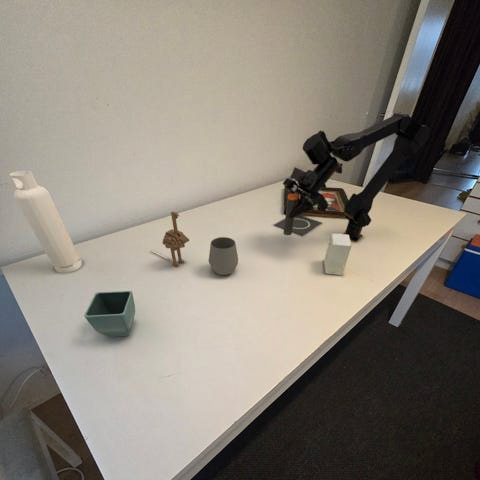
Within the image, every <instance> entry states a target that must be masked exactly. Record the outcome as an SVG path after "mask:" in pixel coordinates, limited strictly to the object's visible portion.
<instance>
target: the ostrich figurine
mask: <svg viewBox="0 0 480 480" xmlns="http://www.w3.org/2000/svg"><path fill="white" fill-rule="evenodd" d="M170 216H171V221H172V228H171V229H170V230H168V231H167V230H166V231H165V234H164V236H163V239H162V245H164V247H165V249H170V254H171V255H170V256H171V259H172V265H173V266H175V267H177V268H178V267H179V263H180V264H185V261H184V260H183V258H182V252H181V249H183V248H185V247H186V245H185V244H186V243H189V242H190V238H189V237H188V236H186V235H185V234H184V232H183V231H181V230H179V229H178V224H177V223H178V222H177V219H178V218H179V217H180V214H179V213H178V212H176V211H170ZM151 252H152V253H154V254H157V255H158V256H160V257H162V258H164V259H166V260H168V261H169V260H170V259H169V256H168V257H167V256H166V255H164V254H161V253H160V252H157V251H156V250H151ZM175 252H176V253H175ZM176 255H177V257H176ZM177 259H178V262H177Z"/></svg>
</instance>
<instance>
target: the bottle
mask: <svg viewBox="0 0 480 480" xmlns="http://www.w3.org/2000/svg"><path fill="white" fill-rule="evenodd" d="M9 176H10V178H11V179H12V181H13V183H14V185H15V187H16V189H15V190H14V193H13V198H14V200H15V202H16V204H17V205H18V207H19V209H20V210H21V212H22V214H23V216H24V218H25V219H26V221H27V222H28V224H29V226H30V228H31V230H32V231H33V233H34V235H35V237H36V238H37V240H38V242H39V244H40V245H41V247H42V249H43V250H44V252H45V254H46V256H47V258H48V259H49V261H50V263H51V264H52V266H53V268H54V270H55V271H56V272H57V273H59V274H60V273H61V274H68V273H72V272H75V271H77V270H78V269H80V268H81V267H82V266H83V261H82V260H81V257H80V255H79V253H78V251H77V249H76V247H75V244H74V243H73V240H72V238H71V236H70V234H69V232H68V230H67V227H66V226H65V224H64V221H63V220H62V217H61V215H60V213H59V210H58V209H57V207H56V205H55V203H54V201H53V198H52V196H51V194H50V192H49V191H48V189H47V188H45V187H44V186H42V185H39V184H38V183H37V180H36V179H35V177H34V174H33V173H32V171H31V170H25V169H24V170H16V171H13V172H11V173H9Z"/></svg>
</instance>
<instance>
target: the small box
mask: <svg viewBox="0 0 480 480" xmlns="http://www.w3.org/2000/svg"><path fill="white" fill-rule="evenodd" d="M351 250H352V243H351V240H350V238H349V235H346V234H343V233H337V232H336V233H335V232H331V233H330V237H329V241H328V244H327V249H326V252H325V256H324V259H323V264H324V266H323V267H324V274H327V275H328V274H329V275H338V276H342V275H343V273H344V270H345V267H346V264H347V262H348V258H349V256H350V252H351Z"/></svg>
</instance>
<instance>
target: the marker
mask: <svg viewBox="0 0 480 480" xmlns="http://www.w3.org/2000/svg"><path fill="white" fill-rule="evenodd" d="M297 199H298V195H297V194H293V193H291V194H288V201H287V209H286V215H284V216H285V217H284V219H285V224H284V229H283V231H282V232H283V233H282V234H283V235H284V236H291V235H292V234H293V232H292V230H293V223H294V217H293V218H291V219H290V218H289V215H290V213H291V212H292V211H293V209H294V208H295V207H296V204H297Z"/></svg>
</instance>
